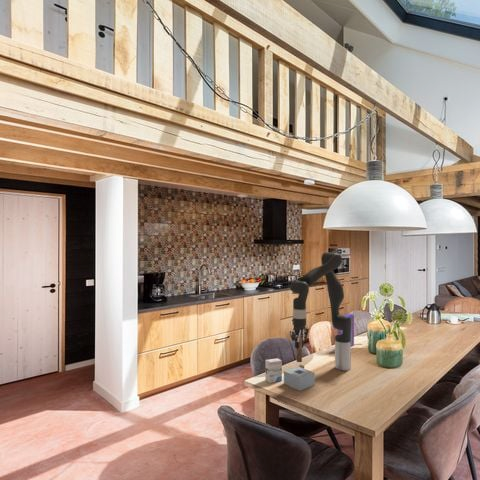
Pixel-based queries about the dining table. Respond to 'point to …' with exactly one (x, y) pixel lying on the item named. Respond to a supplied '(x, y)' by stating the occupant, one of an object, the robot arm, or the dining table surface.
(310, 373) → the hole block
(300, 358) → the long pin
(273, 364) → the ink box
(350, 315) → the cereal box
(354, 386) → the dining table surface
